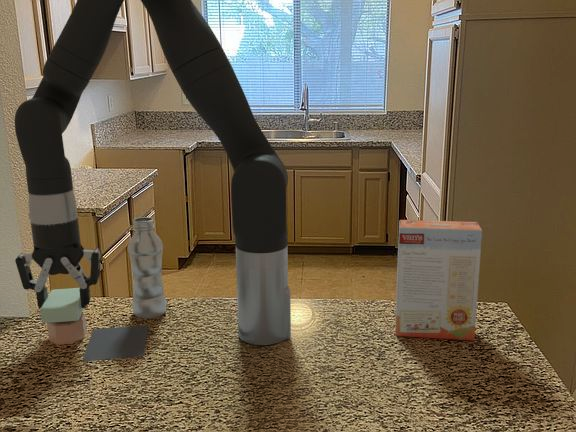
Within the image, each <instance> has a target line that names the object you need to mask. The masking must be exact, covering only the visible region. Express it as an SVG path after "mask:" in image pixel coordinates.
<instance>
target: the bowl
mask: <svg viewBox="0 0 576 432" xmlns="http://www.w3.org/2000/svg"><path fill="white" fill-rule="evenodd" d="M46 328H47V334H48V341H49V342H50V343H53V344H54V345H57V346H58V345H59V346H61V345H68V344H71V345H72V344H74V343H77V342H79V341H82V340H84V339H86V334H87V332H88V330H87V322H86V313H84V312H82V314H81V316H80V318H79V320H78V321H65V322H53V323H46Z"/></svg>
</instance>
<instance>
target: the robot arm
mask: <svg viewBox="0 0 576 432" xmlns="http://www.w3.org/2000/svg"><path fill="white" fill-rule="evenodd" d="M124 2H125V0H76V2H75V4H74V6H73V8H72V10H71V13H70V15H69V17H68V19H67V21H66V22H65V24H64V26H63V29H62V30H61V32H60V34H59V36H58V38H57V40H56V41H55V43H54V45H53V47H52V49H51V51H50V53H49V54H48V58H47V59H46V60H45V63H44V66H43V68H42V74H43V75H42V78H41V81H40V82H39V84H38V86H37V89H36V90H35V93H34V94H33V96H32V97H31V98H30V99H26V100H25V101H23V102H22V103H20V105H18V107H17V109H16V111H15V114H14V130H15V136H16V140H17V143H18V147H19V152H20V153H21V154H20V155H21V157H22V159H23V162H24V165H25V177H26V186H27V192H28V218H29V221H30V228H31V229H30V230H31V235H32V244H33V250H32V252H29V253H25V252H20V253H19V254H18V256H17V257H16V258H15V260H14V261H15V264H16V265H15V266H16V269H17V271H18V275H19V278H20V282H21V286H22V289H24V290H32V291H34V292H35V295H36V296H35V297H36V304H37V307H38V309H41V307H42V305H43V304H44V302H45V301H46V299H47V298H48V295H49V294H48V288H47V287H46V286H45V285H46V283H47V281H48V278H49V276H56V275H59V274H60V275H70V276H71V277H72V279H73V280H74V281H75V282H76V284H78V286H79V288H80V289H79V291H80V299H81V306H82V308H84V309H86V308H87V307H88V305H89V304H90V301H91V300H92V299H91V292H90V291H91V290H90V286H92V285H97V283H98V282H99V279H100V273H101V271H100V269H101V253H102V252H101V249H100V248H98V247H97V248H94V249H93V250H92V249H85V248H84V247H83V245H82V242H81V235H80V225H79V215H78V207H77V206H78V205H77V200H76V196H75V193H74V184H73V175H72V174H73V173H72V167H71V163H70V160H69V159H68V158H67V157H66V154H65V148H64V147H65V146H64V139H63V133H65V131H66V130H67V128H68V127H69V124H71V120H72V119H73V117H74V114H75V113H76V110H77V107H78V104H79V103H80V100H81V97H82V95H83V93H84V91H85V89H86V88H87V86H88V85H89V83H90V81H91V80H92V78H93V76H94V74H95V73H96V70H97V68H98V66H99V65H100V63H101V61H102V59H103V57H104V55H105V53H106V50H107V48H108V47H107V46H108V44H109V42H110V39H111V35H112V32H113V28H114V25H115V23H116V19H117V17H118V14H119V12H120V10H121V7H122V5H123V3H124ZM140 2H141V3H142V5H143V6H144V8H145V10H146V12H147V13H148V15H149V17H150V20H151V22H152V24H153V27H154V30H155V33H156V36H157V40H158V43H159V45H160V48H161V49H162V53H163V55H164V57H165V60H166V62H167V64H168V66H169V69H170V71H171V73H172V74H173V76H174V78H175V81H176V82H177V84H178V86H179V87H180V89H181V91H182V93H183V94H184V96H185V98H186V99H187V100H188V102H189V103H190V106H191V107H192V108H193V109H194V110H195V112H196V113H197V114H198V116H200V119H202V120H203V121H204V122H205V124H206V125H207V126H208V127H209V128H210V129H211V130H212V132H213V133H214V134H215V136H216V137H217V139H218V140H219V142H220V144H221V145H222V147H223V149H224V151H225V153H226V155H227V157H228V160H229V162H230V165H231V167H232V169H233V174H232V176H231V177H232V178H231V182H230V198H231V199H230V201H231V214H232V217H231V218H232V219H231V220H232V231H233V234H234V240H235V244H234V245H235V269H236V272H235V273H236V274H235V275H236V276H235V277H236V298H237V301H236V303H237V305H236V306H237V330H238V331H237V332H238V333H237V335H238V337H239V339H240V340H241V341H243V342H245V343H246V344H250V345H256V346H268V345H269V346H270V345H275V344H278V343H281V342H283V341H286V340H290V339H291V338H292V337H291V334H292V333H291V331H292V330H291V329H292V327H291V322H292V321H291V319H292V318H291V317H292V316H291V310H292V309H291V288H290V286H289V268H288V266H289V264H288V263H289V262H288V261H289V259H288V258H289V256H288V254H289V253H288V250H289V249H288V243H289V242H288V237H289V235H288V233H289V232H288V225H287V222H288V220H287V187H288V182H289V180H288V179H289V177H288V176H289V175H288V170H287V167H286V166H285V164H284V162H283V161H282V160H281V158H280V157H279V155H278V153H277V152H276V150H275V149H274V148H273V146H272V145H271V144H270V143H271V142H269V140H268V138H267V137H266V136H265V134H264V132H263V131H262V129H261V128H260V126H259V124H258V122H257V120H256V118H255V116H254V114H253V111H252V109H251V107H250V103H249V101H248V99H247V97H246V95H245V92H244V89H243V87H242V85H241V83H240V81H239V79H238V76H237V75H236V73H235V70H234V67H233V66H232V64H231V61H230V60H229V58H228V56H227V55H226V52H225V50H224V48H223V46H222V45H221V43H220V41H219V39H218V38H217V36H216V34H215V33H214V31H213V30H212V28H211V26H210V25H209V24H208V22H207V21H206V19H205V18H204V16H203V15H202V13H201V12H200V11H199V9H198V8H197V6H196V5H195V4H194V2H193V1H192V0H140ZM83 257H85V258H86V261H87V262H88V263H90V274H89V275H90V276H87V274H86V272H84V268H83V267H82V265H81V264H80V262H81V260H82V259H83ZM32 260H33V261H34V262H35V263H36V264H37V265H38V266H39V267H40V268H41V270H40V272H39V275H38V278H37V280H35V279H34V276H33V274H32V270H31V265H32V262H33V261H32Z"/></svg>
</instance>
